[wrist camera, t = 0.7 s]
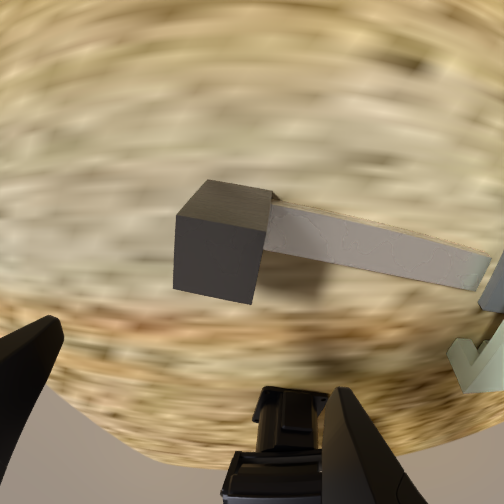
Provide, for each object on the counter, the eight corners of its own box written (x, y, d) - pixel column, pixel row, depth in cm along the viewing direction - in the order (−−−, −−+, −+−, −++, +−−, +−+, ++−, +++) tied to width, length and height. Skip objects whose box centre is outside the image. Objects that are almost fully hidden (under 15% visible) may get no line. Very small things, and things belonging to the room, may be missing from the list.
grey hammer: (467, 289, 20) (500, 338, 15) (201, 237, 20) (173, 288, 15) (488, 246, 18) (529, 290, 13) (207, 179, 19) (176, 215, 13)
